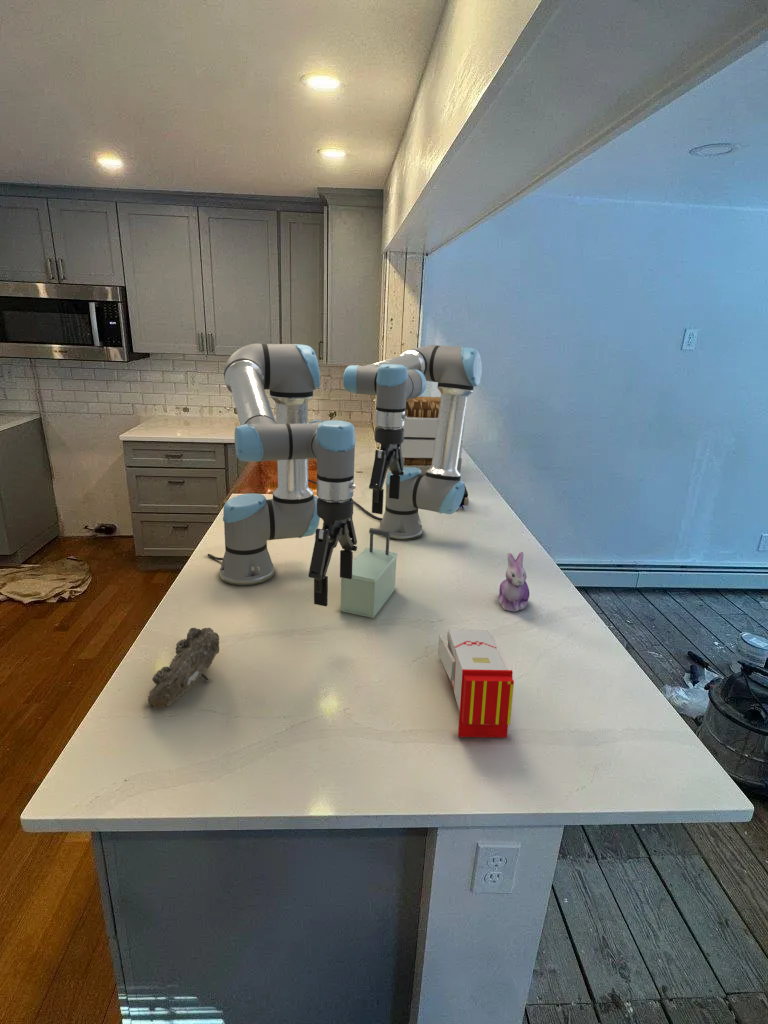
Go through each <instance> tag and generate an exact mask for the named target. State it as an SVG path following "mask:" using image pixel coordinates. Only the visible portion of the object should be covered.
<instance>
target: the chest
mask: <svg viewBox="0 0 768 1024" xmlns="http://www.w3.org/2000/svg"><path fill="white" fill-rule="evenodd" d="M397 558H398V556H397V557H396V558H395V560H394V561H393V562H392V563H391V564H390V566H389V567H388V568H387V569H386V570H385V572H384V573H383V574H382V575H381V576H380V578H379V579H378V580H377V581H376V582H375V583H372V582H367V581H362V580H358V579H353V578H352V579H347V578H341V577H340V612H343V613H347V614H353V615H357V616H361V617H366V618H371V619H374V618H375V617H376V616H377V614H378V613H379V612H380V610H381V609H382V607H383V606H384V605H385V603H386V602H387V600H389V598H390V596H391V595H392V594H393V592H395V590H396V577H397V576H396V574H397Z"/></svg>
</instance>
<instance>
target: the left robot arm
mask: <svg viewBox="0 0 768 1024" xmlns="http://www.w3.org/2000/svg"><path fill="white" fill-rule="evenodd" d="M223 380H224V385H225V387H226V388H227V390H228V391H229V392H230V393H231V394H232V398H233V402H234V406H235V409H236V414H237V417H238V421H239V425H237V426H236V427H235V428H234V448H235V455H236V458H237V460H239V461H241V462H255V463H259V462H270V461H276V465H277V466H276V469H277V487H276V488H275V489H274V490H273V491H272V498H269V499H267V497H266V496H265V495H263V494H262V493H255V492H252V493H245V494H244V493H243V494H240V495H236V496H234V497H232V498H230V499H228V500H227V501H226V502H225V503H224V505H223V515H222V522H223V528H224V529H223V530H224V547H225V548H224V554H223V557H217V556H214V555H212V554H210V553H207V557H209V558H211V559H213V560H216V561H221V564H220V567H219V574H220V579H221V580H222V581H223V582H225V583H227V584H230V585H233V586H254V585H259V584H262V583H265V582H267V581H269V580H270V579H272V578H273V576H274V574H275V565H274V563H273V561H272V558H271V555H270V553H269V550H268V541H275V540H284V539H298V538H299V539H301V538H304V537H311V536H315V537H314V545H313V549H312V554H311V560H310V564H309V570H308V578H310V579H313V604H314V605H317V606H322V607H327V606H328V597H329V595H328V594H329V592H328V590H329V576H327V572H328V569H329V566H330V562H331V558H332V556H333V552H334V549H335V548H337V546H338V543H339V545H340V547H341V550H340V551H339V553H340V554H339V578H340V579H341V578H347V579H352V561H353V560H354V559H353V553H354V552H357V551H358V546H357V544H358V539H357V534H356V529H355V526H354V525H355V523H354V520H353V515H354V503H353V501H354V499H353V497H354V490H356V486H357V485H356V484H355V481H354V480H355V456H356V455H355V453H356V442H357V440H356V432H355V431H356V429H355V426H354V424H353V423H351V422H349V421H345V420H337V419H333V420H332V419H329V420H323V419H313V420H311V421H309V413H308V411H309V408H308V404H309V402H310V401H311V399H313V397H314V391H316V390H318V389H319V388H320V385H321V383H320V382H321V371H320V365H319V361H318V357H317V354H316V352H315V350H314V349H313V348H312V346H310V345H307V344H298V343H251V344H247V345H244V346H241V348H238V349H237V350H236V351H235V352H233V353H232V354H231V355H230V356H229V358H228V360H227V361H226V362H225V365H224V368H223ZM266 390H268V391H269V397H270V398H271V399H272V400H273V401H274V402H275V415H274V413H273V410H272V407H271V404H270V402H269V401H270V400H269V399H268V395H267V393H266ZM313 459H314V460H315V459H316V482H317V484H316V496H315V494H314V491H313V489H312V488H310V486H309V481H308V479H309V460H313ZM321 519H322V521H323V525H322V528H319V525H320V521H321Z"/></svg>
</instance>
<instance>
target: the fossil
mask: <svg viewBox="0 0 768 1024" xmlns="http://www.w3.org/2000/svg"><path fill="white" fill-rule="evenodd" d="M219 653H220V635H219V634H218V633H217V632H214V630H213V629H212V628H211V627H204V628H201V629H200V628H196V627H191V628H189V630H188V632H187V633H186V638H184V639H180V640H178V642H177V643H176V644H175V654H176V655H175V656H174V658H172V661H170V664H169V666H162V667H161V669H159V670H158V671H157V672H156V673H154V675H153V677H152V679H151V681H152V682H153V683H154V684H155V686H154V687H153V688H152V689H151V690H149V692H148V694H149V695H148V696H147V703H148V705H149V706H152V707H154V708H156V709H158V708H162V707H166V706H168V707H169V706H171V705H173V703H174V702H175V701H176V700H178V699H179V698H180V697H181V696H183V695H184V694H185V693H186V692H187V691H188V690H189V689H190V688H191V687H193V685H194V684H195V682H196V680H197V679H199V678H200V677H202V678H203V680H205V681H206V682H208V681H209V678H208V677H207V675H205V674H204V673H203V672H204V671H205V670H206V669H208V668H210V666H211V665H212V664H213V661H214V659H215V658H216V656H217V655H218V654H219Z"/></svg>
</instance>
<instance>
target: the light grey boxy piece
mask: <svg viewBox="0 0 768 1024" xmlns="http://www.w3.org/2000/svg"><path fill="white" fill-rule="evenodd" d="M440 399H441V396H418V397H416V398H414V399H408V400H406V406H405V415H406V416H407V418H406V419H405V421H404V426H403V427H402V428H403V429H404V441H403V443H401V453H402V462H403V468H404V467H405V466H406V467H417V466H418V467H431V466H432V458H433V451H434V443H435V436H436V429H437V421H438V414H439V406H440ZM464 422H465V419H464ZM464 429H465V423H464V424H463V431H462V438H461V445H460V452H459V459H458V466H457V470H458V472H459V473H460V475H461V472H462V461H463V460H462V453H463V442H464V441H463V440H462V439H463V438H464V431H465V430H464ZM390 471H391V470H390V469H389V472H390Z"/></svg>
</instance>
